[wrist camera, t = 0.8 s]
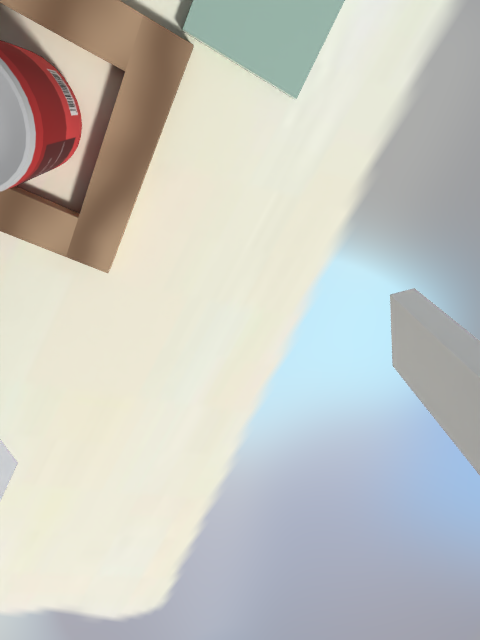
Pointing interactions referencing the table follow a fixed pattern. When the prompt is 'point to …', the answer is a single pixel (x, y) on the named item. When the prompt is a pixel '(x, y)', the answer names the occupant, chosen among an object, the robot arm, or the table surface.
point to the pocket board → (122, 132)
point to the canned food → (34, 116)
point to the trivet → (266, 35)
